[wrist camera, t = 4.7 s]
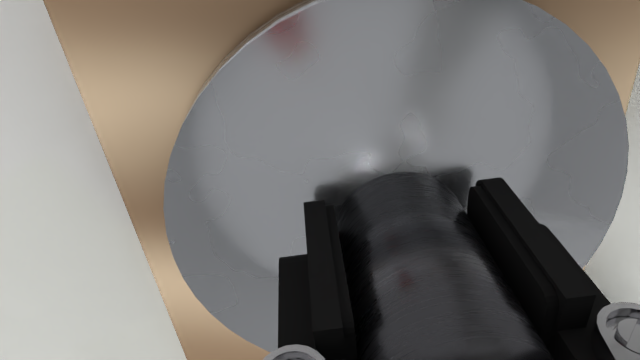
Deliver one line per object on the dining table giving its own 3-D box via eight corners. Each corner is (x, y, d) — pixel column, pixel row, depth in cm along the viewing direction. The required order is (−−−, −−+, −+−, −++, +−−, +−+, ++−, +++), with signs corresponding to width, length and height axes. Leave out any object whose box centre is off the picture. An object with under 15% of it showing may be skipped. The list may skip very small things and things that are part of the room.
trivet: (53, -9, 10) (41, -5, 10) (658, -84, 10) (678, -84, 10) (202, 377, 17) (199, 391, 17) (556, 328, 18) (565, 340, 17)
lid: (102, 14, 9) (-108, 139, 4) (659, -61, 10) (1096, -22, 4) (227, 365, 16) (201, 583, 11) (562, 320, 16) (695, 516, 11)
